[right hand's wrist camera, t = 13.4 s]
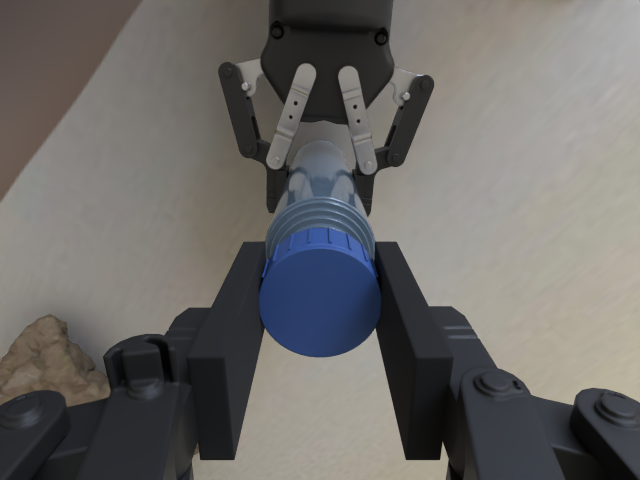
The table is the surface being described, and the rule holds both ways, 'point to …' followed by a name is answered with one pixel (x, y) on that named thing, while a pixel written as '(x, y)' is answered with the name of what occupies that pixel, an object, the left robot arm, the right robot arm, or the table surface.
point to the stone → (51, 366)
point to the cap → (320, 293)
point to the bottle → (320, 198)
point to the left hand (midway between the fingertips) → (318, 219)
